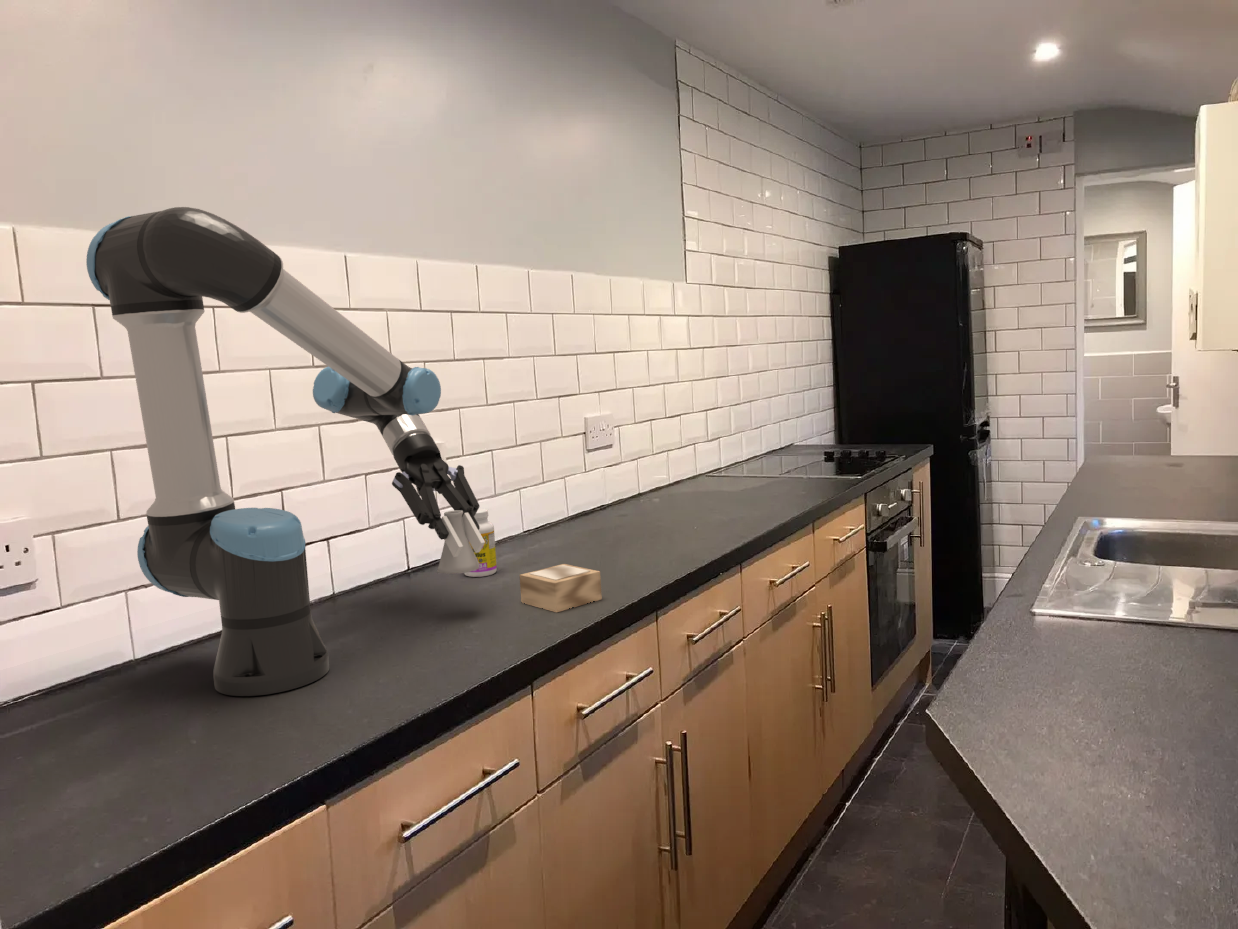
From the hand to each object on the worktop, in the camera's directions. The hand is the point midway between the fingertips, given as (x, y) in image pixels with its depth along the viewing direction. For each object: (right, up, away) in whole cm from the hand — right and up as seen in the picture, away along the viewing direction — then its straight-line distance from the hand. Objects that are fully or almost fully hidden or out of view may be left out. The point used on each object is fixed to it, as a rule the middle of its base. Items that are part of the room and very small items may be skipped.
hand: (469, 549), depth 150 cm
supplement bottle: (-3, -8, +34) cm, 35 cm away
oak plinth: (+15, -10, +9) cm, 20 cm away
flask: (-2, -4, +3) cm, 6 cm away
